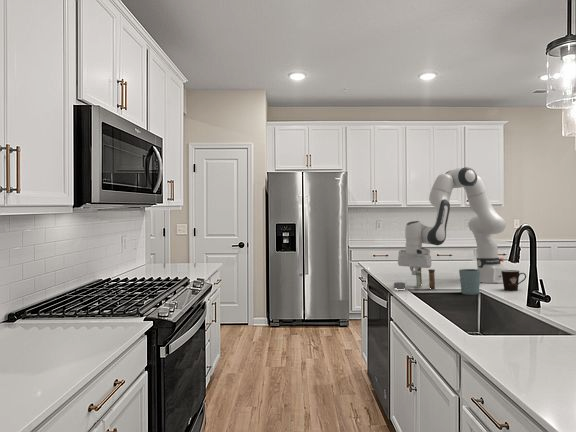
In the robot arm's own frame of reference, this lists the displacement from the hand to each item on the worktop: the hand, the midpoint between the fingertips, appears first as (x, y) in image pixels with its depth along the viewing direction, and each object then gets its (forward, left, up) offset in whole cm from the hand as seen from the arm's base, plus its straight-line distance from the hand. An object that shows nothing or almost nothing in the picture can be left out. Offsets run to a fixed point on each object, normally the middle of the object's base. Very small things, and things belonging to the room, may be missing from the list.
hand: (414, 275), depth 268 cm
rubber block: (+10, +2, -8) cm, 13 cm away
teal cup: (-17, +27, -8) cm, 33 cm away
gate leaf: (-3, 0, -6) cm, 7 cm away
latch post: (-6, +7, -7) cm, 12 cm away
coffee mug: (-42, +28, -8) cm, 51 cm away
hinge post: (-6, -6, -7) cm, 12 cm away
